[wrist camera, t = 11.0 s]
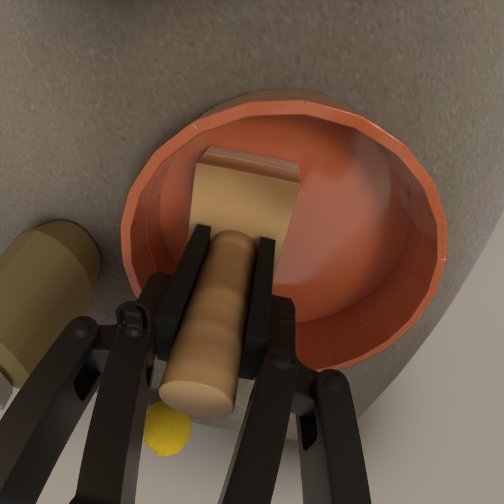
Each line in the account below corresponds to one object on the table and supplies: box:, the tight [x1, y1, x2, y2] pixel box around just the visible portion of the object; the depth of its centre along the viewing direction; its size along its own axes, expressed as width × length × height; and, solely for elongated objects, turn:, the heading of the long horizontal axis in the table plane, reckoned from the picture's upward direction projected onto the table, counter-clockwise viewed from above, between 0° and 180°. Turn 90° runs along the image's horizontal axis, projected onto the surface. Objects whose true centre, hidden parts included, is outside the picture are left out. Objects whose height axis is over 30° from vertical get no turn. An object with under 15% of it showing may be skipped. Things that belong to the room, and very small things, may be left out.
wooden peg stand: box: [158, 146, 300, 419], centre depth 15 cm, size 9×5×12 cm, turn 170°
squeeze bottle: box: [0, 220, 100, 410], centre depth 16 cm, size 8×8×18 cm
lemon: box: [143, 401, 191, 457], centre depth 32 cm, size 6×6×8 cm
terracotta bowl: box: [120, 89, 447, 372], centre depth 18 cm, size 17×17×6 cm
